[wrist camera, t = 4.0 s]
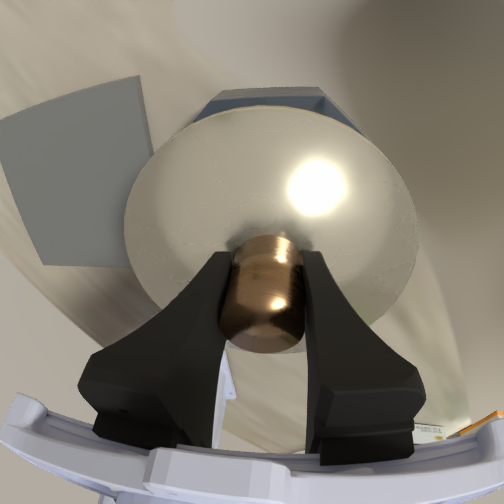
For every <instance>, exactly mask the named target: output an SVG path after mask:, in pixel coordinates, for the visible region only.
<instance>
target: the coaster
mask: <svg viewBox="0 0 504 504" xmlns="http://www.w3.org/2000/svg"><path fill="white" fill-rule="evenodd" d="M153 154H154V153H153V148H152V143H151V138H150V133H149V128H148V122H147V117H146V111H145V106H144V100H143V94H142V88H141V82H140V76H139V75H137V76H132V77H128V78H124V79H120V80H116V81H112V82H108V83H104V84H100V85H97V86H93V87H89V88H86V89H83V90H79V91H76V92H73V93H70V94H67V95H64V96H61V97H58V98H55V99H52V100H49V101H46V102H43V103H41V104H38V105H35V106H33V107H30V108H27V109H25V110H22V111H20V112H18V113H15V114H13V115H10V116H8V117H6V118H3V119H1V120H0V161H1V164H2V167H3V170H4V173H5V176H6V179H7V182H8V184H9V187H10V190H11V192H12V195H13V198H14V200H15V203H16V205H17V208H18V210H19V213H20V215H21V217H22V220H23V222H24V225H25V227H26V229H27V231H28V234H29V236H30V238H31V240H32V242H33V245H34V247H35V249H36V251H37V253H38V255H39V257H40V259H41V261H42V263H43V265H57V266H94V267H132V266H131V264H130V261H129V257H128V254H127V250H126V245H125V237H124V216H125V210H126V205H127V200H128V197H129V195H130V192H131V189H132V186H133V184H134V182H135V180H136V179H137V177H138V175H139V173H140V171H141V170H142V168H143V167H144V166H145V164H146V163H147V162H148V161H149V159H150V158H151V157H152V156H153Z"/></svg>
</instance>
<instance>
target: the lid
mask: <svg viewBox="0 0 504 504" xmlns="http://www.w3.org/2000/svg"><path fill="white" fill-rule="evenodd" d="M124 237H125V245H126V250H127V254H128V257H129V261H130V264H131V266H132V268H133V270H134V273H135V275H136V277H137V279H138V280H139V282H140V284H141V285H142V287H143V289H144V290H145V291H146V293H147V294H148V295H149V296H150V298H151V299H152V300H153V301H154V302H155V303H156V304H157V305H158V306H159V307H160V308H161V310H163V309H164V308H165V307H166V306H167V305H168V304H169V303H170V302H171V301H172V300H173V299H174V298H175V297H176V296H177V295H178V294H179V293H180V292H181V291H182V290H183V289H184V288H185V287H186V286H187V285H188V284H189V282H190V281H191V280H192V279H193V278H194V277H195V275H196V274H197V273H198V272H199V271H200V269H201V268H202V267H203V266H204V264H205V263H206V262H207V261H208V259H209V258H210V257H211V256H212V254H213V253H214V252H215V251H230V252H231V258H232V265H233V266H232V270H231V275H230V279H229V283H228V288H227V292H226V297H225V301H224V306H223V310H222V314H221V319H220V328H221V331H222V333H223V335H224V336H225V338H226V339H227V340H226V344H225V346H227V347H231V348H235V349H239V350H243V351H250V352H255V353H270V354H284V353H297V352H305V351H307V350H306V340H305V302H304V276H303V253H304V251H320V252H321V253H322V255H323V258H324V260H325V262H326V265H327V267H328V269H329V271H330V273H331V274H332V276H333V278H334V280H335V281H336V283H337V285H338V286H339V288H340V290H341V291H342V293H343V294H344V296H345V297H346V299H347V300H348V302H349V303H350V304H351V306H352V307H353V308H354V310H355V311H356V312H357V314H358V315H359V316H360V317H361V318H362V320H363V321H364V322H365V323H366V324H367V325H368V326H370V325H371V324H373V323H374V322H375V321H376V320H378V319H379V318H380V317H381V316H382V315H383V314H384V313H385V312H386V311H387V310H388V309H389V308H390V307H391V306H392V305H393V304H394V303H395V301H396V300H397V298H398V297H399V296H400V294H401V293H402V291H403V290H404V288H405V286H406V284H407V282H408V280H409V278H410V276H411V273H412V270H413V268H414V265H415V261H416V256H417V250H418V223H417V216H416V211H415V208H414V205H413V202H412V198H411V196H410V194H409V192H408V190H407V188H406V186H405V184H404V182H403V180H402V178H401V177H400V175H399V174H398V172H397V171H396V170H395V168H394V167H393V166H392V164H391V163H390V162H389V160H388V159H387V158H386V156H385V155H384V154H383V153H382V152H381V151H380V150H379V149H378V148H377V147H376V146H375V145H374V144H373V143H372V142H371V141H369V140H368V139H366V138H365V137H364V136H362V135H361V134H359V133H358V132H357V131H355V130H354V129H352V128H351V127H349V126H347V125H345V124H343V123H341V122H339V121H337V120H335V119H333V118H330V117H328V116H325V115H322V114H319V113H316V112H313V111H309V110H305V109H299V108H293V107H288V106H270V105H258V106H249V107H241V108H234V109H231V110H227V111H223V112H220V113H216V114H213V115H210V116H208V117H206V118H204V119H201V120H199V121H197V122H195V123H193V124H191V125H189V126H188V127H186V128H185V129H183V130H182V131H180V132H178V133H177V134H175V135H174V136H173V137H172V138H171V139H170V140H168V141H167V142H166V143H165V144H164V145H163V146H162V147H161V148H160V149H158V150H157V151H156V152H155V153H154V154H153V156H152V157H151V158H150V159H149V161H148V162H147V163H146V164H145V166H144V167H143V168H142V170H141V171H140V173H139V175H138V177H137V179H136V180H135V182H134V184H133V186H132V189H131V192H130V195H129V197H128V200H127V205H126V210H125V216H124Z"/></svg>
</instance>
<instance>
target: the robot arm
mask: <svg viewBox="0 0 504 504" xmlns="http://www.w3.org/2000/svg"><path fill="white" fill-rule="evenodd" d="M232 266H233V265H232V258H231V252H230V251H215V252H214V253H213V254H212V256H211V257H210V258H209V259H208V261H207V262H206V263H205V264H204V266H203V267H202V268H201V269H200V271H199V272H198V273H197V274H196V275H195V277H194V278H193V279H192V280H191V281H190V282H189V284H188V285H187V286H186V287H185V288H184V289H183V290H182V291H181V292H180V293H179V294H178V295H177V296H176V297H175V298H174V299H173V300H172V301H171V302H170V303H169V304H168V305H167V306H166V307H165V308H164V309H163V310H162V311H160V312H159V313H158V314H157V315H156V316H154V317H153V318H152V319H150V320H149V321H148V322H146V323H145V324H144V325H142V326H141V327H140V328H138V329H137V330H135V331H134V332H132V333H131V334H129V335H128V336H126V337H124V338H123V339H121V340H119V341H117V342H116V343H114V344H112V345H110V346H108V347H106V348H104V349H102V350H100V351H98V352H96V353H94V354H92V355H91V357H90V359H89V360H88V362H87V364H86V366H85V369H84V371H83V373H82V376H81V378H80V380H79V382H78V385H77V386H78V389H79V392H80V394H81V395H82V396H83V398H84V399H85V400H86V401H87V402H88V403H89V404H90V405H91V406H92V407H93V408H94V409H95V410H96V411H97V412H98V415H97V417H96V420H95V423H94V425H92V424H89V423H85V422H82V421H78V420H75V419H72V418H69V417H66V416H63V415H60V414H57V413H54V412H52V411H49V410H48V409H47V408H46V407H45V406H44V405H43V404H42V403H41V402H40V401H38V400H36V399H34V398H32V397H29V396H27V395H24V394H22V393H17V394H16V397H15V398H14V400H13V403H12V405H11V407H10V409H9V411H8V413H7V415H6V418H5V420H4V422H3V424H2V427H1V429H0V442H1V443H2V444H3V445H5V446H6V447H8V448H9V449H10V450H12V451H13V452H15V453H17V454H18V455H19V456H21V457H23V458H24V459H25V460H27V461H29V462H30V463H32V464H34V465H36V466H38V467H40V468H42V469H44V470H46V471H48V472H50V473H53V474H54V475H57V476H59V477H61V478H63V479H65V480H68V481H70V482H72V483H74V484H77V485H79V486H82V487H84V488H86V489H89V490H91V491H94V492H97V493H99V494H100V497H99V501H98V504H460V503H464V502H466V501H469V500H473V499H476V498H479V497H481V496H484V495H487V494H490V493H492V492H494V491H496V490H498V489H500V488H502V487H503V486H504V418H500V419H497V420H493V421H491V422H488V423H486V424H485V425H483V426H482V427H481V428H480V429H479V430H478V431H477V432H476V433H472V434H468V435H464V436H460V437H455V438H451V439H446V440H441V441H436V442H431V443H425V444H419V445H414V442H413V435H412V431H414V429H415V425H414V419H413V418H414V417H415V416H416V414H417V413H418V412H419V410H420V409H421V408H422V406H423V405H424V403H425V401H426V394H425V389H424V385H423V382H422V380H421V377H420V374H419V372H418V370H417V368H416V367H415V366H414V365H412V364H411V363H409V362H408V361H407V360H405V359H404V358H403V357H401V356H400V355H398V354H397V353H396V352H395V351H394V350H392V349H391V348H390V347H389V346H388V345H387V344H386V343H385V342H384V341H383V340H382V339H381V338H379V337H378V336H377V335H376V334H375V333H374V332H373V331H372V330H371V329H370V327H369V326H368V325H367V324H366V323H365V322H364V321H363V320H362V318H361V317H360V316H359V315H358V314H357V312H356V311H355V310H354V308H353V307H352V306H351V304H350V303H349V302H348V300H347V299H346V297H345V296H344V294H343V293H342V291H341V290H340V288H339V286H338V285H337V283H336V281H335V280H334V278H333V276H332V274H331V273H330V271H329V269H328V267H327V265H326V262H325V260H324V258H323V255H322V253H321V252H320V251H304V253H303V276H304V302H305V340H306V350H307V360H308V398H307V428H306V448H305V454H275V453H255V452H240V451H229V450H219V449H217V447H218V445H219V442H220V437H221V430H222V425H223V419H224V413H225V407H226V401H227V399H236V392H235V388H234V384H233V380H232V376H231V372H230V368H229V364H228V360H227V356H226V352H225V350H224V348H225V344H226V340H227V339H226V338H225V336H224V335H223V333H222V331H221V328H220V319H221V314H222V310H223V306H224V301H225V297H226V292H227V288H228V283H229V279H230V275H231V270H232Z"/></svg>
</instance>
